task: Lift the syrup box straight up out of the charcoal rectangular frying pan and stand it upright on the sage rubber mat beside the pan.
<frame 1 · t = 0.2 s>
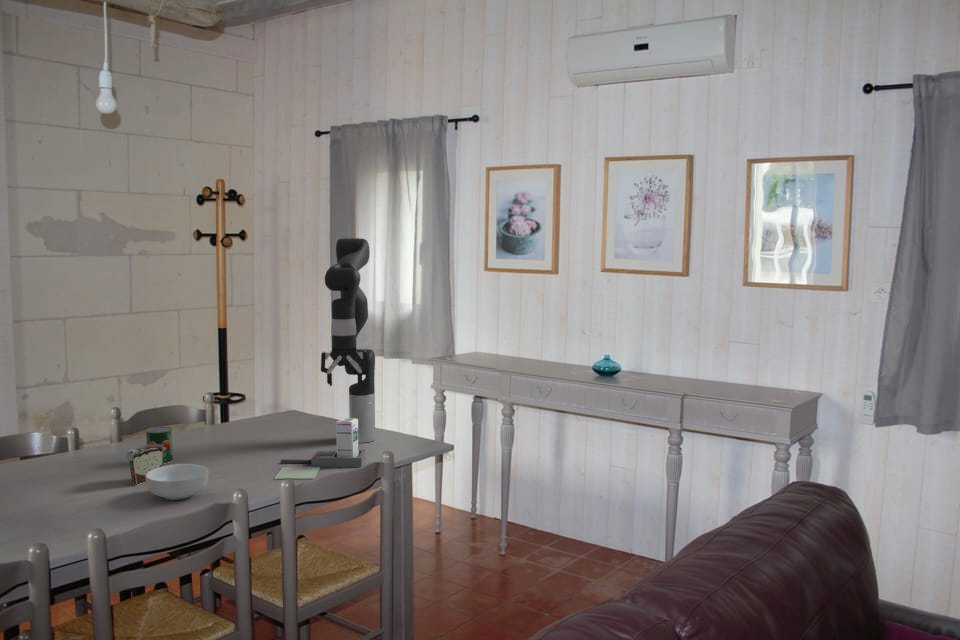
hand: (344, 385, 253), 28 cm above the table, tool pointing down, fingers open, 8 cm apart
canned tomato: (160, 462, 270), on the table
cereal bowl: (178, 496, 236), on the table
rectangular frying pan: (338, 462, 269), on the table
slice of cake: (142, 480, 250), on the table
syrup box: (348, 463, 269), resting in rectangular frying pan
sage mat: (297, 473, 257), on the table
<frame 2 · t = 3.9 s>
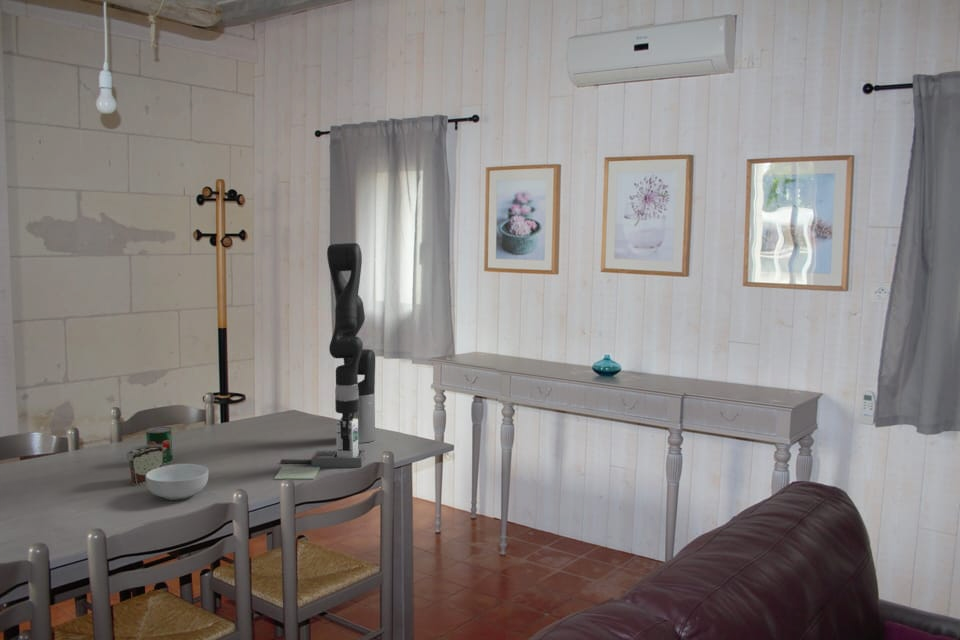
hand: (347, 447, 269), 5 cm above the table, tool pointing down, fingers closed on syrup box, 6 cm apart
syrup box: (348, 463, 269), resting in rectangular frying pan, touching gripper
everything else where it was.
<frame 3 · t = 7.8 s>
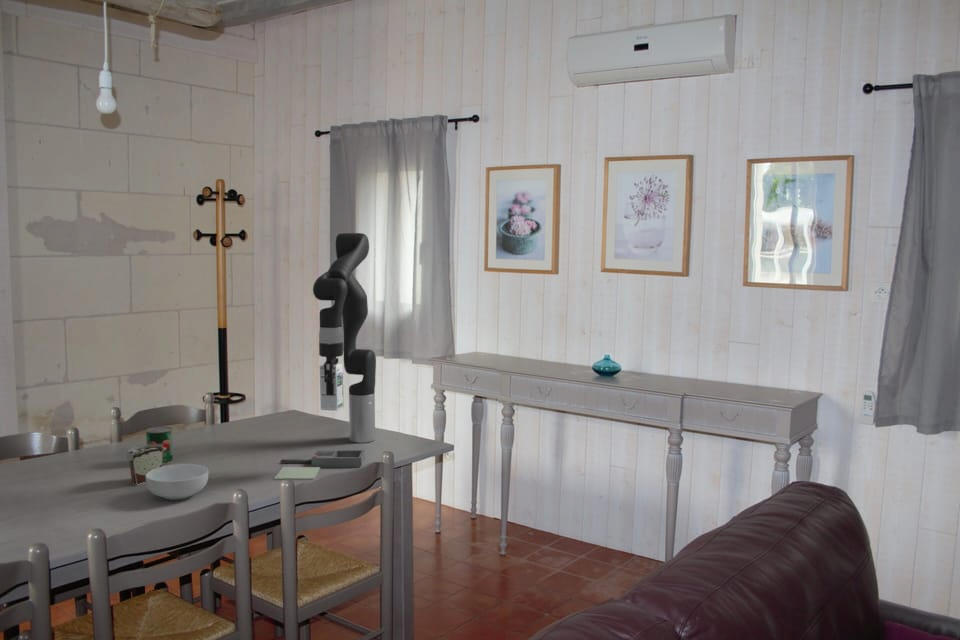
hand: (331, 392, 263), 24 cm above the table, tool pointing down, fingers closed on syrup box, 6 cm apart
syrup box: (331, 409, 263), point 19 cm above the table, touching gripper
everything else where it was.
when the fingers open (7 cm above the table, at t = 11.8 s): syrup box drops 1 cm, resting on sage mat.
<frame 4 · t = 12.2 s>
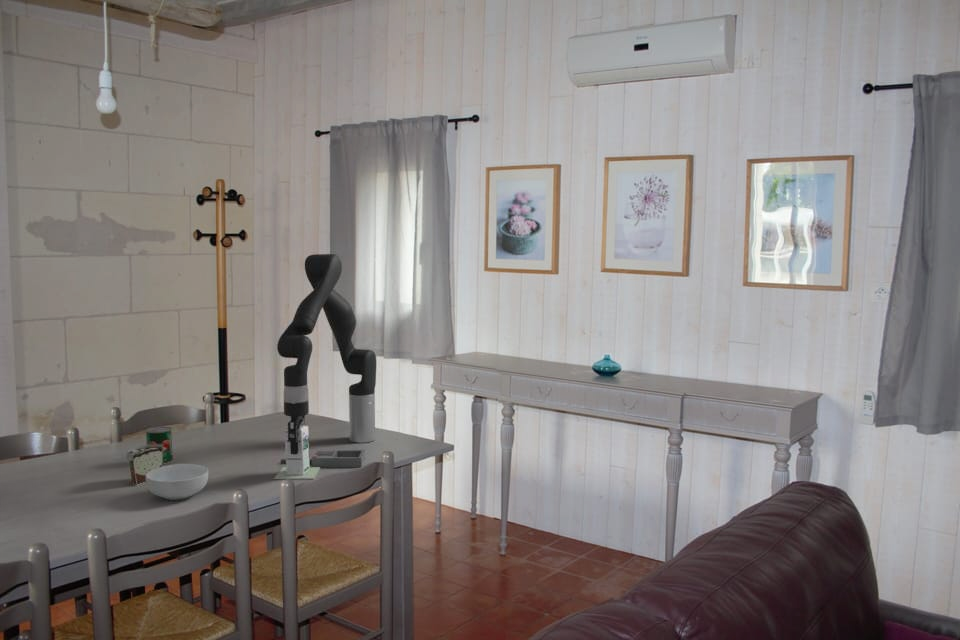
hand: (297, 450, 256), 8 cm above the table, tool pointing down, fingers open, 8 cm apart
syrup box: (298, 472, 257), resting on sage mat
everything else where it was.
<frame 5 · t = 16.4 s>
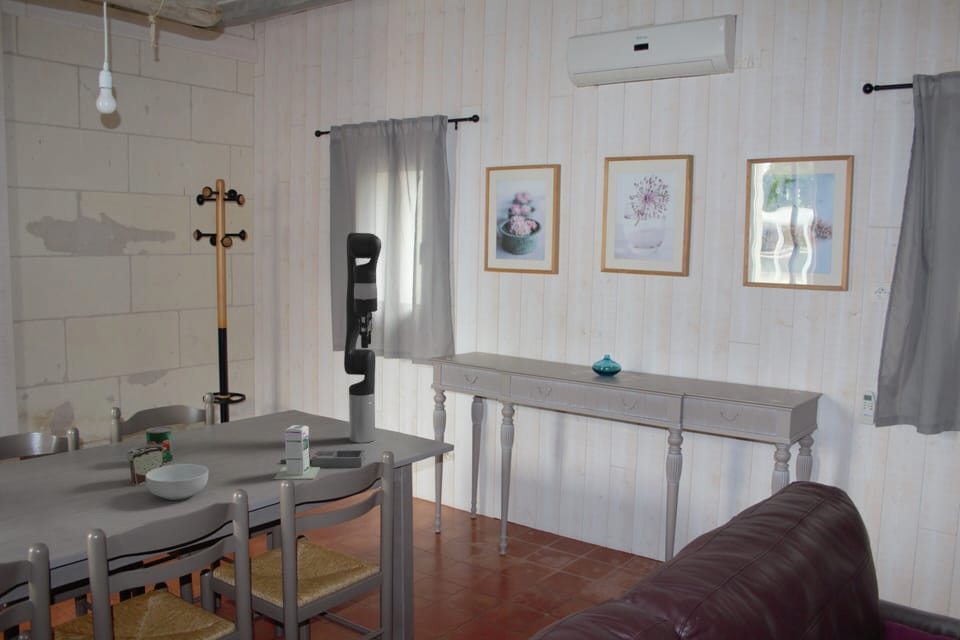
hand: (366, 346, 269), 38 cm above the table, tool pointing down, fingers open, 8 cm apart
nothing on the table moved.
at the end: syrup box inside the target area on the sage mat (0.1 cm from its centre), point 0.2 cm above the sage mat's base; syrup box tilted 0°; the gripper is holding nothing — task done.
